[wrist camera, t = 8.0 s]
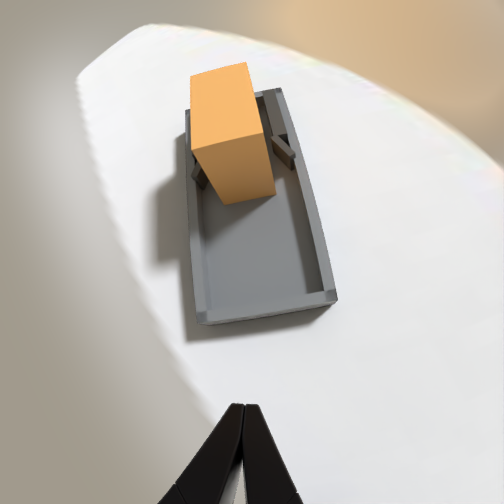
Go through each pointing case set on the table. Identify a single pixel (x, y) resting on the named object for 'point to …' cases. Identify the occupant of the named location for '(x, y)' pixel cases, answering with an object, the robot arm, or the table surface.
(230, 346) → the table surface
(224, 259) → the tray
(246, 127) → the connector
